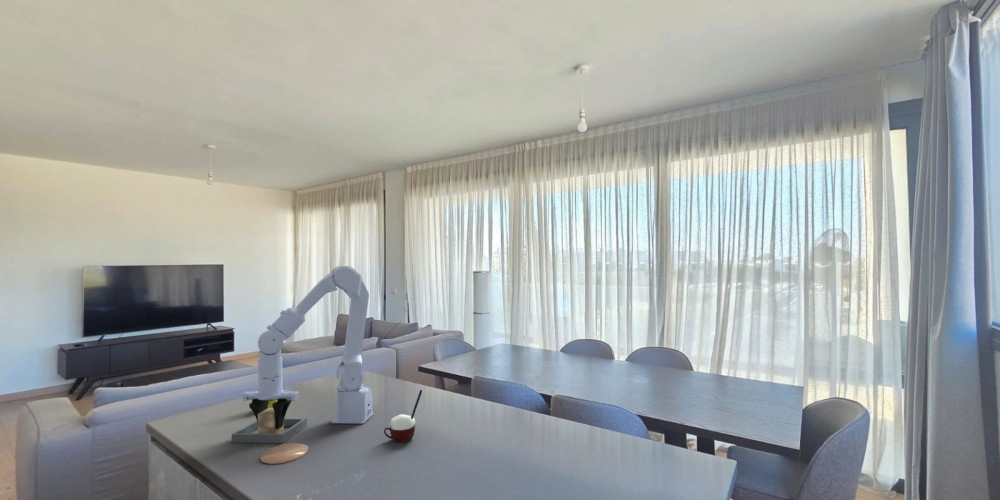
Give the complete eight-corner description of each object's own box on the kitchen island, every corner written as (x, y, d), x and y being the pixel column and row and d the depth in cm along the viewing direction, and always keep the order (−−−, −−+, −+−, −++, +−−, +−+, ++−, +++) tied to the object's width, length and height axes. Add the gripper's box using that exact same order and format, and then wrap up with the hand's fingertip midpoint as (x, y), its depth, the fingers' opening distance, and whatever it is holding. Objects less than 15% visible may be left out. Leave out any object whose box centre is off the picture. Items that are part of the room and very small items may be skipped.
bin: (307, 425, 120) (306, 418, 120) (282, 443, 109) (282, 434, 109) (260, 425, 121) (260, 417, 121) (231, 442, 110) (231, 434, 110)
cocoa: (382, 445, 107) (378, 397, 107) (393, 434, 113) (389, 388, 113) (418, 446, 105) (414, 397, 105) (427, 434, 111) (424, 388, 111)
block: (283, 430, 117) (283, 407, 118) (272, 437, 112) (272, 414, 113) (269, 429, 118) (269, 407, 118) (257, 437, 113) (257, 414, 113)
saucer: (315, 445, 107) (315, 443, 107) (293, 464, 97) (293, 462, 97) (277, 445, 108) (277, 442, 108) (250, 463, 98) (250, 461, 98)
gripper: (234, 380, 112) (234, 433, 112) (288, 380, 111) (288, 433, 111) (252, 373, 119) (252, 422, 119) (302, 373, 118) (303, 423, 118)
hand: (270, 427), depth 115 cm, fingers closed on block, 4 cm apart
